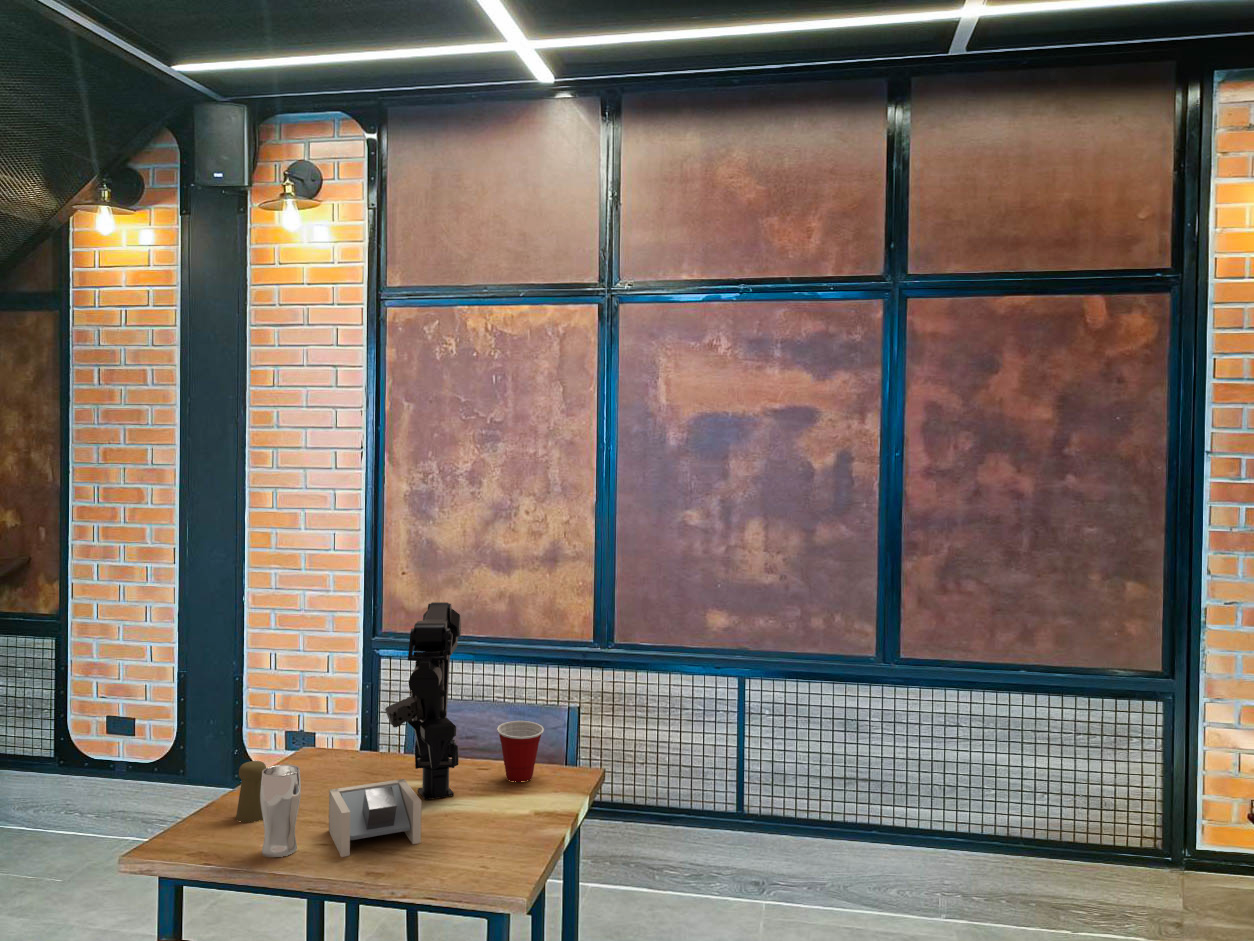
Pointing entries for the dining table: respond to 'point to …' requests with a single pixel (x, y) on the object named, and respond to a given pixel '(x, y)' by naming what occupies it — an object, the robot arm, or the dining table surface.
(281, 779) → the beer glass
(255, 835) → the dining table surface
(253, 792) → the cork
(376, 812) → the block
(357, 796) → the trapdoor
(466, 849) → the dining table surface
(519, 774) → the plastic cup
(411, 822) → the white step stool
